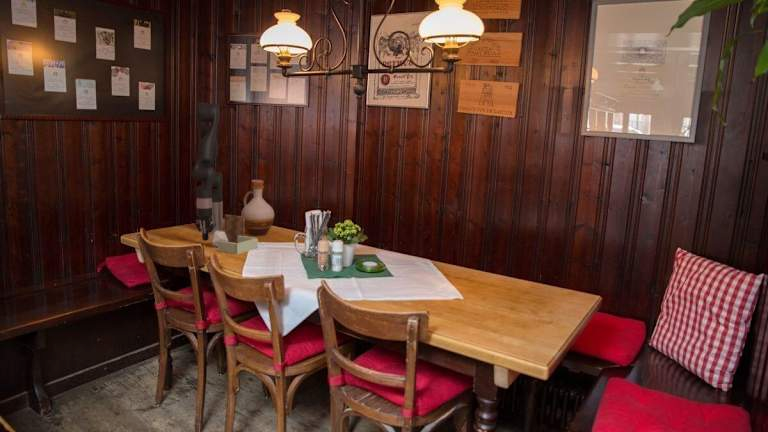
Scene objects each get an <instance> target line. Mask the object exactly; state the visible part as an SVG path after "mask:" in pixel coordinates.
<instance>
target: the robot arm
mask: <svg viewBox="0 0 768 432" xmlns="http://www.w3.org/2000/svg"><path fill="white" fill-rule="evenodd" d="M220 111H221V110H220V106H219V104H217V103H209V102H207V103H206V102H198V103H197V104H196V107H195V116H196V122H197V127H198V143H199V145H198V150H197V159H196V162H195V163H194V167H193V169H192V173H191V174H192V178H193V179H194V180H195V181H197V182H201V185H198V186H197V188H196V216H197V219H196V220H194V221H193V224H194V226H195V228H197V230H198V232H200V233H201V236H202V238H201V239H202V241H203V242H204V241H205V242H206V241H209V234H213V233H214V232H215V231H216V230H217V231H224V217H223V216H224V212H223V210H224V209H223V206H224V205H223V204H224V203H223V179H224V178H223V174H222V172H220V171H218V172H217V171H215V169H214V168H213V167H211V165H212V164H213V163H214V162H215V160H216V159H217V157H218V156H219V143H218V141H217V139H216V136H217V131H218V126H219V123H220V122H219V121H220V113H221V112H220ZM207 123H211V124H210V126H209V128H208V126H207ZM212 190H215V192H213V193H212Z"/></svg>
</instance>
